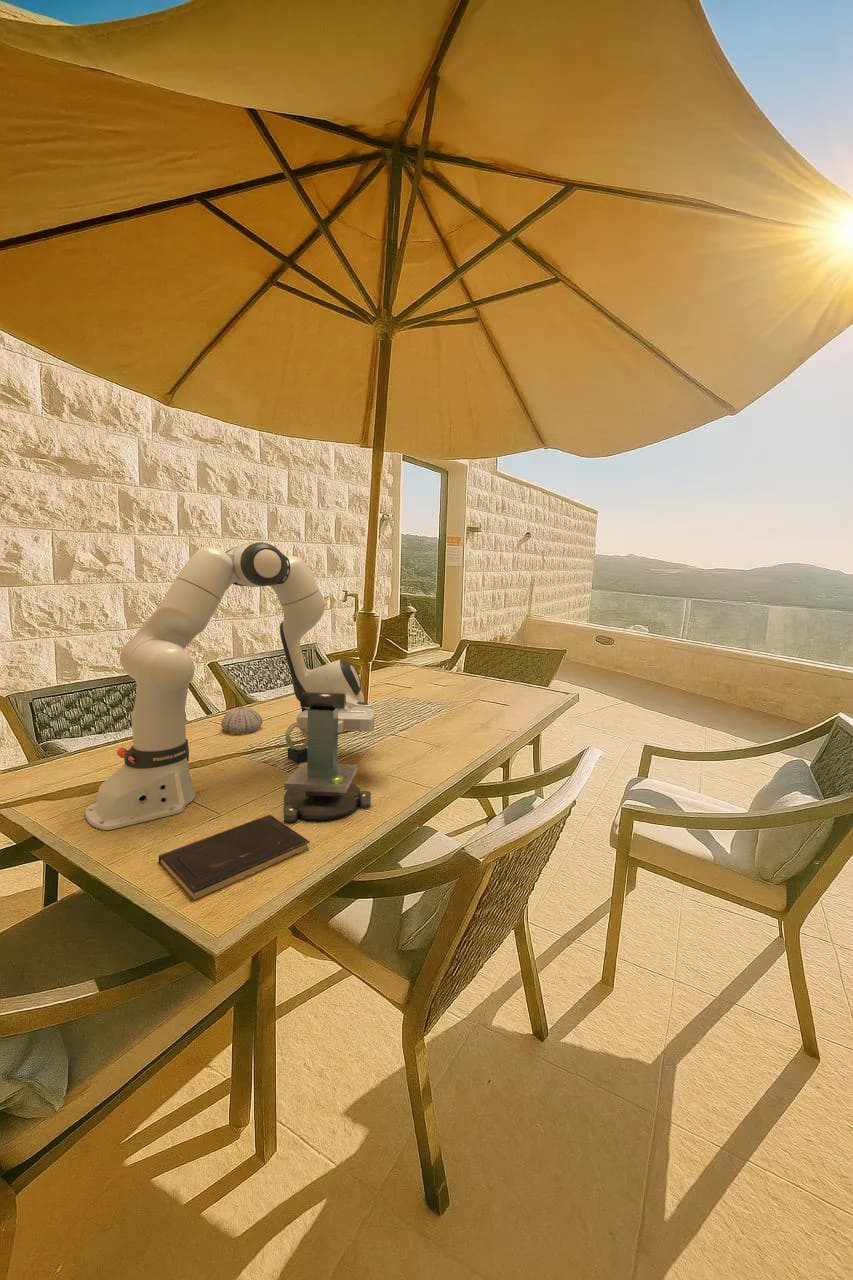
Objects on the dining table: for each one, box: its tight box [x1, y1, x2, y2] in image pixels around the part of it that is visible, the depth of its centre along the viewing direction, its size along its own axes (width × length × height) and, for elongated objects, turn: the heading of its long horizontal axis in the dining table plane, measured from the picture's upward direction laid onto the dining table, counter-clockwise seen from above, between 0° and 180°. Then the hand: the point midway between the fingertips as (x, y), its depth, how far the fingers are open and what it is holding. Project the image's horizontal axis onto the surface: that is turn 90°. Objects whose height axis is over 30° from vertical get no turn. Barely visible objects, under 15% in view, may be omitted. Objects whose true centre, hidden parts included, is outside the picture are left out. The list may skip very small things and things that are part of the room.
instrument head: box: [283, 692, 358, 793], centre depth 120 cm, size 14×14×21 cm
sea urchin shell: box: [220, 706, 263, 735], centre depth 173 cm, size 13×14×8 cm
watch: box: [284, 721, 308, 764], centre depth 148 cm, size 6×8×11 cm
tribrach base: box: [283, 781, 372, 825], centre depth 121 cm, size 20×21×6 cm
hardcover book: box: [158, 814, 310, 900], centre depth 99 cm, size 16×23×2 cm
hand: (329, 730), depth 126 cm, fingers closed
